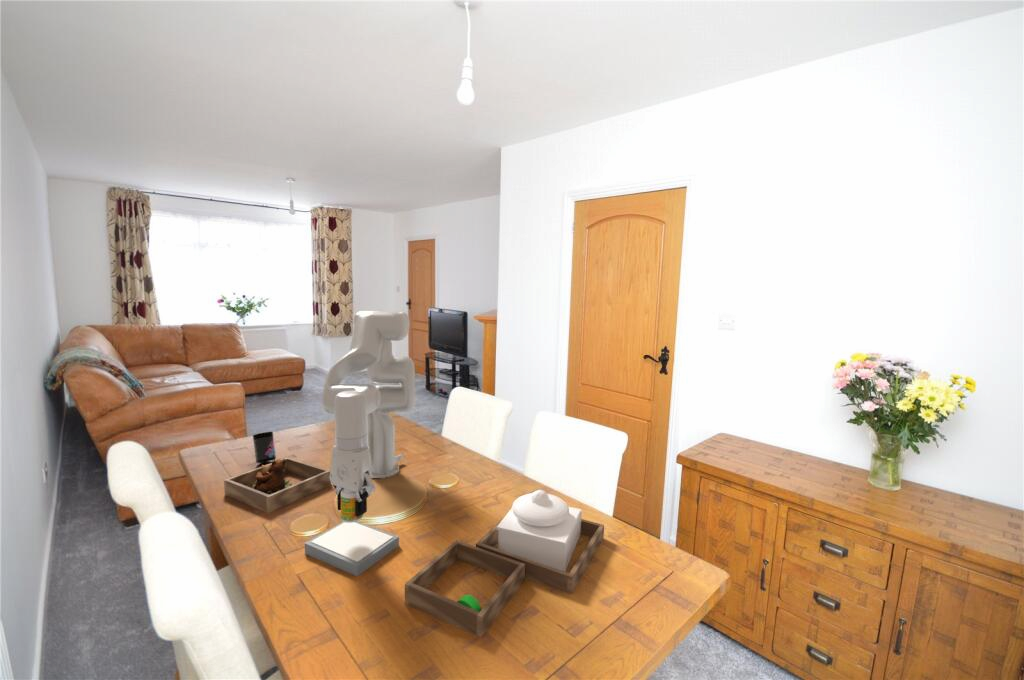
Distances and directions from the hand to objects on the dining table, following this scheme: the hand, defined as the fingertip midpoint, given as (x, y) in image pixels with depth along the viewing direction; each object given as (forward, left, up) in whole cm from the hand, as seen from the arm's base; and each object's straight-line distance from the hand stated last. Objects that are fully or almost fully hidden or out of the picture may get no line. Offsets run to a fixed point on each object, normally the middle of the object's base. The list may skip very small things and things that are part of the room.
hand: (352, 510), depth 112 cm
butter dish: (-26, +41, -11) cm, 49 cm away
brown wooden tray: (-12, -46, -11) cm, 49 cm away
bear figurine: (-9, -47, -11) cm, 49 cm away
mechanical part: (+8, +42, -14) cm, 45 cm away
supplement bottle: (0, 0, -2) cm, 2 cm away
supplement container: (-23, -70, -11) cm, 75 cm away
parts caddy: (-1, +34, -11) cm, 36 cm away
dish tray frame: (-24, +42, -11) cm, 50 cm away
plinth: (0, 0, -11) cm, 11 cm away
